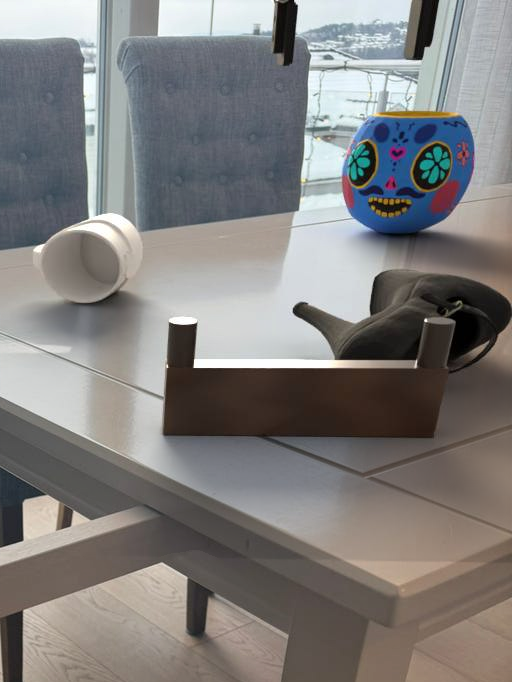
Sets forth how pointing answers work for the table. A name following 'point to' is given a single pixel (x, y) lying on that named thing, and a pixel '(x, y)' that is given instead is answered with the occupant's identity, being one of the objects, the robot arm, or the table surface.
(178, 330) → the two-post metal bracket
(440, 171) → the ceramic pot
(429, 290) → the high-heeled shoe
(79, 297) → the mug
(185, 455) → the table surface
